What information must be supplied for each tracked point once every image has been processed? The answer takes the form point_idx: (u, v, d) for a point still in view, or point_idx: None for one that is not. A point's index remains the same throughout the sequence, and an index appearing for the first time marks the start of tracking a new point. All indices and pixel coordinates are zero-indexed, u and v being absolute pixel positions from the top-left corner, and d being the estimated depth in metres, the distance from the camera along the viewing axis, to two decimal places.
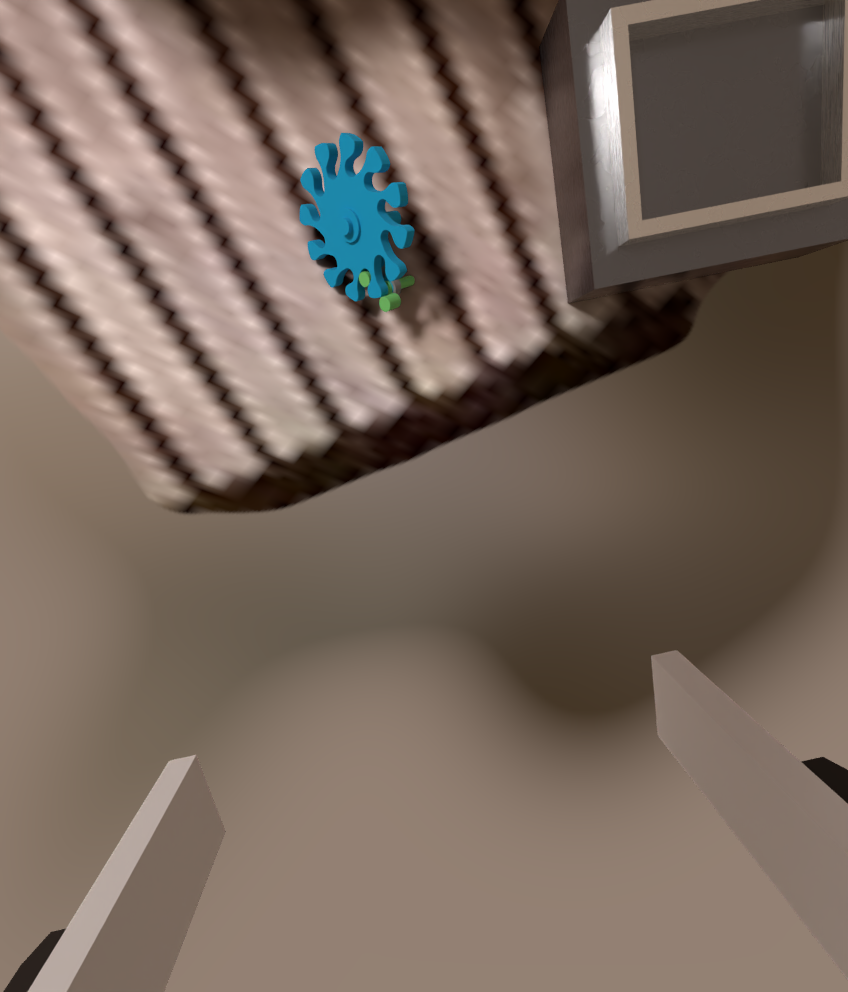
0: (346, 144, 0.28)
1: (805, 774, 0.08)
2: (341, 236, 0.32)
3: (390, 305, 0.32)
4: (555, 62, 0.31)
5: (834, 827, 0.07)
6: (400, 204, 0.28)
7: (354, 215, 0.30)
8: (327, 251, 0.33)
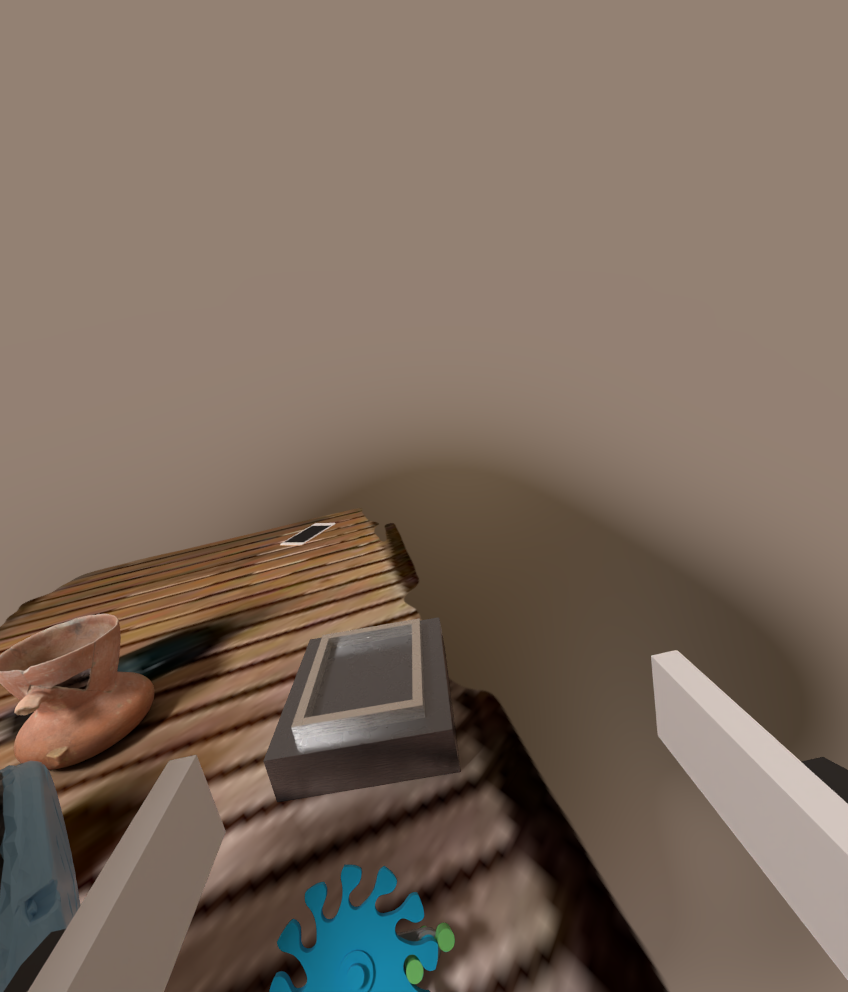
0: (288, 938, 0.27)
1: (805, 774, 0.08)
2: None
3: (448, 929, 0.27)
4: (296, 777, 0.42)
5: (834, 827, 0.07)
6: (360, 870, 0.29)
7: (349, 954, 0.26)
8: None
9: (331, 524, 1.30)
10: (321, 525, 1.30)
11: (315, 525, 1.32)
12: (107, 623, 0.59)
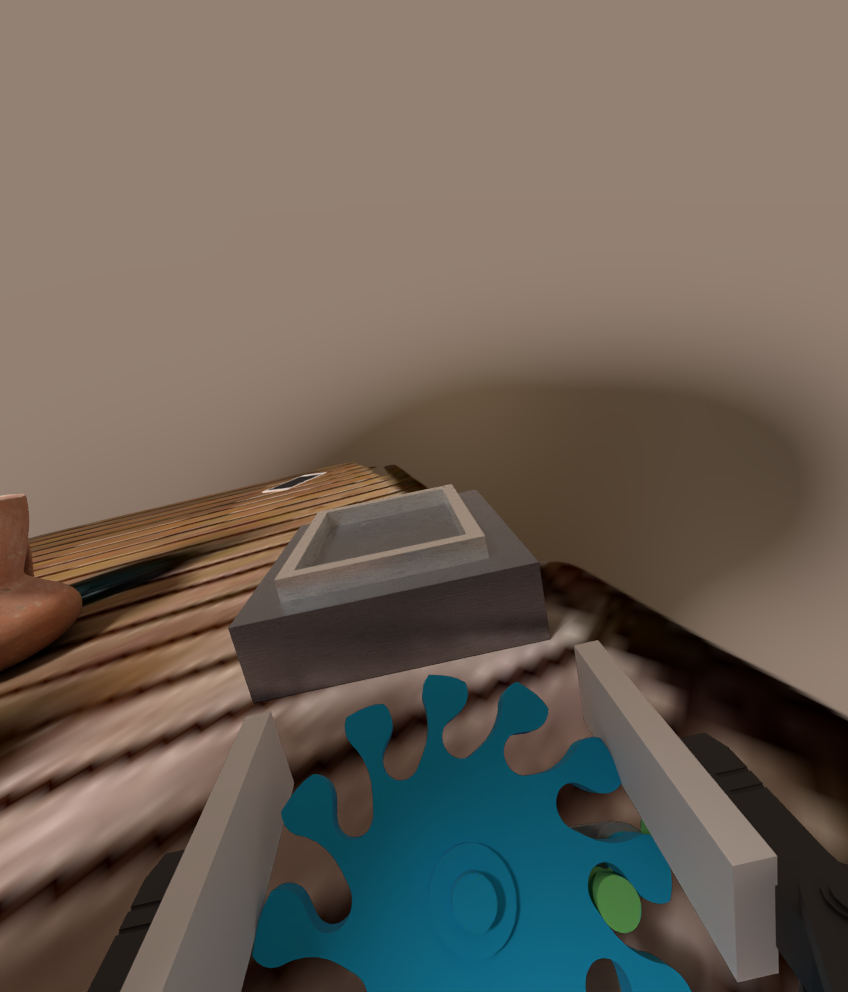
0: (307, 806, 0.11)
1: (677, 746, 0.10)
2: (493, 954, 0.10)
3: None
4: (284, 656, 0.26)
5: (688, 788, 0.09)
6: (464, 684, 0.13)
7: (454, 849, 0.11)
8: None
9: (321, 473, 1.13)
10: (310, 475, 1.14)
11: (303, 476, 1.15)
12: None
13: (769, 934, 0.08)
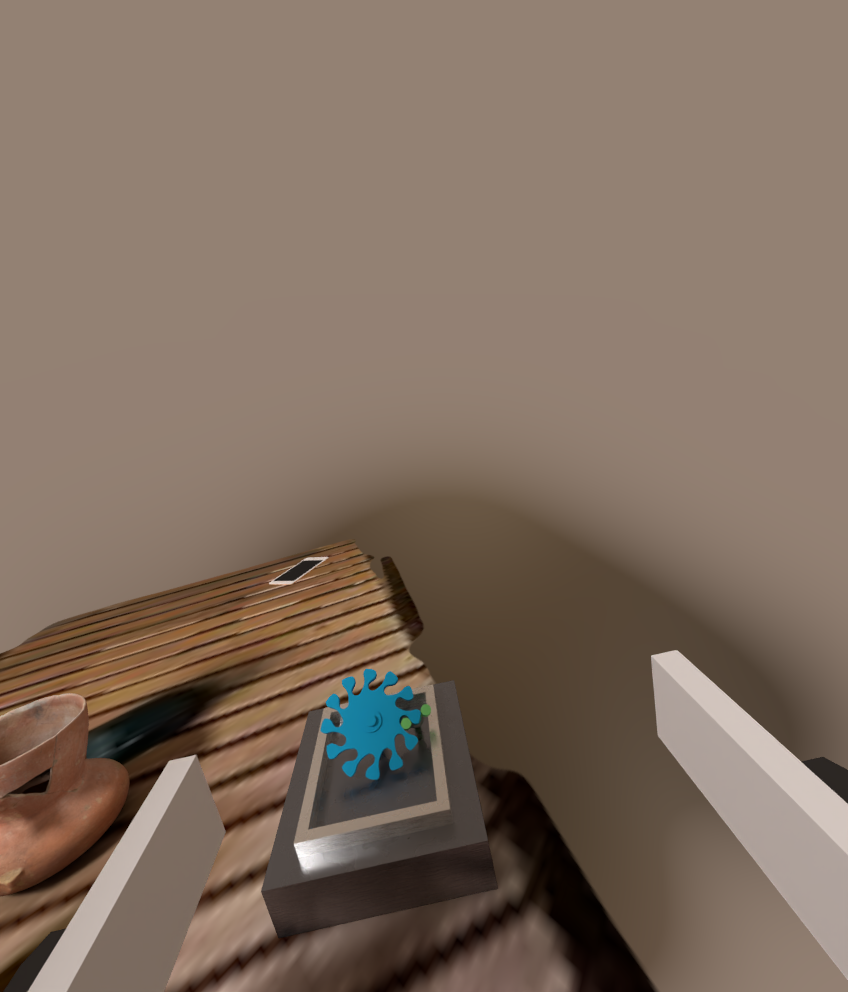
0: (332, 701, 0.45)
1: (805, 774, 0.08)
2: (374, 731, 0.44)
3: (427, 704, 0.45)
4: (301, 907, 0.35)
5: (834, 827, 0.07)
6: (375, 671, 0.47)
7: (367, 710, 0.44)
8: (378, 755, 0.43)
9: (323, 558, 1.22)
10: (313, 560, 1.23)
11: (306, 560, 1.24)
12: (73, 704, 0.51)
13: None
